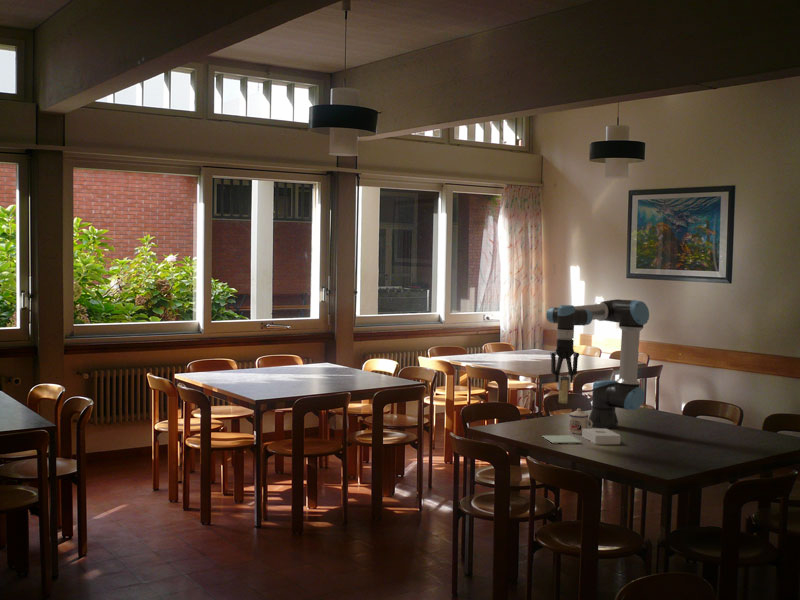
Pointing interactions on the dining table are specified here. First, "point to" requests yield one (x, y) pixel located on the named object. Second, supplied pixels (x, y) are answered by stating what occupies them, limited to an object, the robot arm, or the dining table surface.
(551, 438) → the mat
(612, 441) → the white flat block
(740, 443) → the dining table surface
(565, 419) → the dining table surface
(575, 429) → the teacup with lid
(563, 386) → the yellow tall cylinder
